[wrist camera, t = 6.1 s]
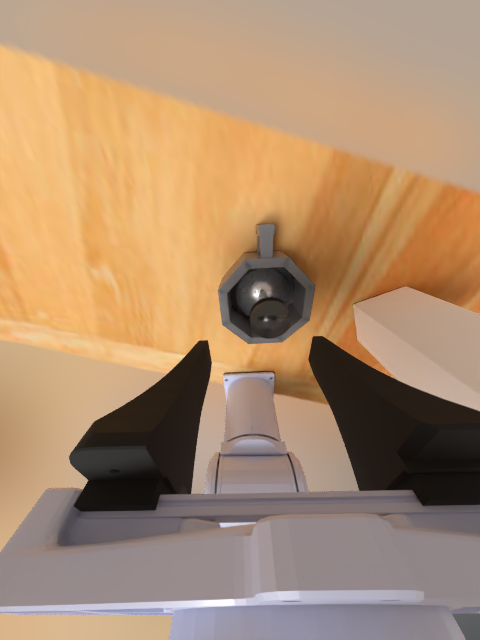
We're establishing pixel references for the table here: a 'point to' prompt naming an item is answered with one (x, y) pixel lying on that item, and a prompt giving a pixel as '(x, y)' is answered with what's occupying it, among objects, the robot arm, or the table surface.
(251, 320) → the plunger
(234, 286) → the grey jug
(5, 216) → the table surface
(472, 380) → the milk
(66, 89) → the table surface
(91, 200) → the table surface
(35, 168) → the table surface
